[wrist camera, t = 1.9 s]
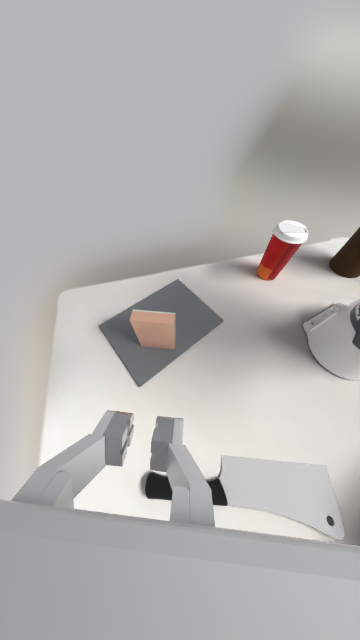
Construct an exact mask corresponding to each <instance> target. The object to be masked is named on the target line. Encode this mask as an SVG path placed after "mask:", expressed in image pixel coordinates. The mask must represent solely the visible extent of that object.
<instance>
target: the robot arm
mask: <svg viewBox="0 0 360 640" xmlns="http://www.w3.org/2000/svg"><path fill="white" fill-rule="evenodd" d="M303 328H304V330H305V332H306V334H307V337H308V344H309V347H310V350H311V352H312V354H313V355H314V357H315V358H316V359H317V361H318V362H319V363H320V364H321V365H322V366H323V367H325V368H326V369H327V370H329V371H330V372H332V373H333V374H335V375H337V376H339V377H342V378H345V379H349V380H360V300H356V301H355V302H353V303H352V304H350V305H347V304H344V303H343V302H339V303H337V304H336V305H334V306H332V307H330V308H329V309H327V310H325V311H324V312H322V313H320V314H319V315H317V316H315V317H313V318H312V319H310V320H308V321H307V322H305V323H304V324H303ZM133 420H134V414H133V413H125V412H118V411H109V410H108V411H107V412H106V413H105V414H104V416H103V417H102V419H101V421H100V422H99V424H98V425H97V427H96V428H95V430H94V432H93V433H92V435H91V434H89V435H87V436H86V437H84V438H82V439H81V440H79V441H78V442H76V443H75V444H73V445H72V446H70V447H69V448H67V449H66V450H64V451H63V452H61V453H60V454H58V455H56V456H55V457H53V458H52V459H50V460H49V461H47V462H46V463H44V464H43V465H41V466H40V467H38V468H37V469H36V471H35V472H34V473H33V474H32V476H31V477H30V478H29V479H28V481H27V482H26V483H25V484H24V486H23V487H22V488H21V489H20V490H19V492H18V493H17V494H16V495H15V497H14V498H13V499H12V500H11V501H9V500H1V499H0V640H360V546H356V545H348V544H341V543H333V542H325V541H318V540H310V539H302V538H294V537H287V536H279V535H271V534H264V533H256V532H248V531H241V530H233V529H225V528H218V527H215V522H214V512H213V503H212V493H211V488H210V487H209V485H208V483H207V481H206V480H205V478H204V476H203V475H202V473H201V471H200V470H199V468H198V466H197V464H196V463H195V461H194V459H193V458H192V456H191V454H190V453H189V451H188V449H187V447H186V446H185V445H183V421H184V420H183V418H175V419H174V418H171V417H161V416H158V417H157V420H156V428H155V429H154V432H153V437H152V442H151V453H152V455H151V461H150V470H156V471H162V472H166V474H167V477H168V479H169V482H170V485H171V488H172V491H173V494H172V504H171V514H170V521H163V520H156V519H148V518H140V517H132V516H125V515H117V514H109V513H102V512H94V511H86V510H78V509H74V503H73V499H74V498H75V497H76V496H77V495H78V494H79V493H80V492H81V490H82V489H83V488H84V487H85V486H86V485H87V484H88V483H89V482H90V481H91V480H92V479H93V478H94V477H95V476H96V475H97V474H98V473H99V472H100V471H101V470H102V469H103V468H104V467H105V466H106V465H113V466H122V465H123V463H124V460H125V457H126V454H127V447H128V446H129V445H130V443H131V440H132V436H133V431H134V425H133V424H132V423H133Z"/></svg>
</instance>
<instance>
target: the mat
mask: <svg viewBox="0 0 360 640" xmlns="http://www.w3.org/2000/svg"><path fill="white" fill-rule="evenodd" d="M133 309H135V310H146V311H158V312H169V313H175V324H176V342H175V349H166V348H155V347H144V346H141V344H140V342H139V340H138V338H137V336H136V333H135V331H134V329H133V327H132V324H131V322H130V317H131V314H132V310H133ZM222 322H223V320H222V319H221V318H220V317H219V316H218V315H217V314H216V313H215V312H214V311H212V310H211V309H210V308H209V307H208V306H207V305H206V304H205V303H204V302H202V301H201V300H200V299H199V298H198V297H197V296H196V295H195V294H194V293H193V292H191V291H190V290H189V289H188V288H187V287H186V286H185V285H184V284H183V283H181V282H180V281H179V280H178V279H177V280H176V281H174V282H172V283H171V284H169V285H167V286H165V287H164V288H162V289H160V290H159V291H157V292H155V293H154V294H152V295H150V296H149V297H147V298H145V299H143V300H142V301H140V302H138V303H137V304H135V305H133V306H132V307H130V308H128V309H127V310H125V311H123V312H121V313H120V314H118V315H116V316H115V317H113V318H111V319H110V320H108V321H106V322H105V323H103V324H101V325H99V327H100V328H101V330H102V331H103V333H104V334H105V336H106V337H107V339H108V340H109V342H110V343H111V345H112V346H113V348H114V349H115V351H116V352H117V354H118V355H119V357H120V358H121V360H122V361H123V363H124V364H125V366H126V367H127V369H128V370H129V372H130V373H131V375H132V376H133V378H134V379H135V381H136V382H137V384H138V385H139V387H141V386H142V385H143V384H144V383H146V382H147V381H148V380H150V379H151V378H152V377H153V376H155V375H156V374H157V373H158V372H160V371H161V370H162V369H163V368H165V367H166V366H167V365H168V364H170V363H171V362H172V361H174V360H175V359H176V358H177V357H179V356H180V355H181V354H182V353H184V352H185V351H186V350H187V349H189V348H190V347H191V346H192V345H194V344H195V343H196V342H198V341H199V340H200V339H201V338H203V337H204V336H205V335H206V334H208V333H209V332H210V331H211V330H213V329H214V328H215V327H216V326H218V325H219V324H220V323H222Z"/></svg>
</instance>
